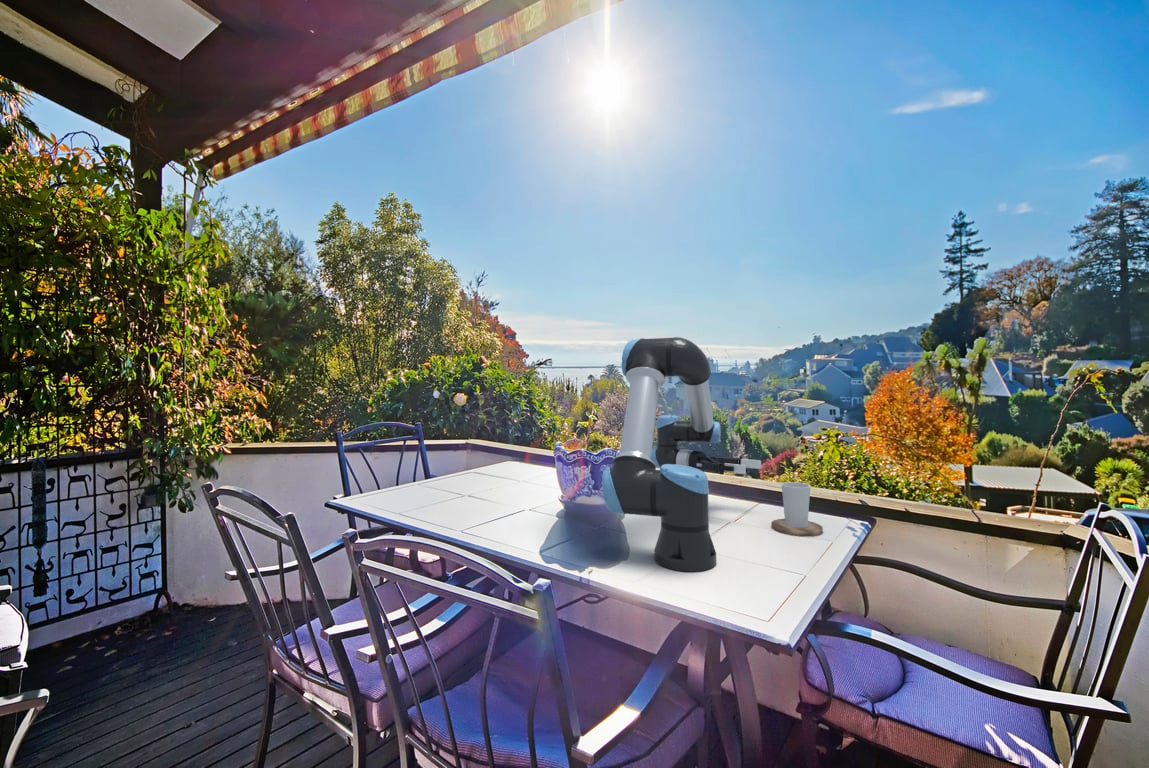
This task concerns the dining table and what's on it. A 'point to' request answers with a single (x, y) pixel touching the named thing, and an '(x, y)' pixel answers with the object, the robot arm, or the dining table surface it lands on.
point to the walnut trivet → (811, 530)
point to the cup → (796, 503)
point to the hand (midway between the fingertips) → (753, 467)
